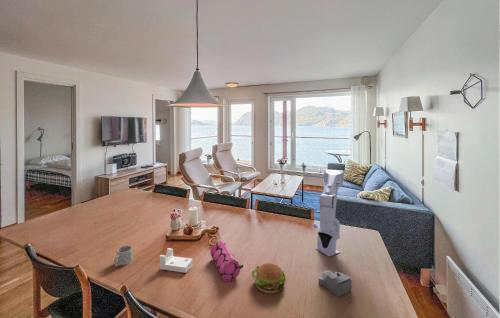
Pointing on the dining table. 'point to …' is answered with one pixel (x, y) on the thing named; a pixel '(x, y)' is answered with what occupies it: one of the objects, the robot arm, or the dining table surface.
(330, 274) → the white rectangular block
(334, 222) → the robot arm
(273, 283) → the food
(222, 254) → the pencil case
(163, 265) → the bracket
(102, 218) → the dining table surface
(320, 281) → the endcap
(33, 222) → the dining table surface
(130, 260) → the mug
